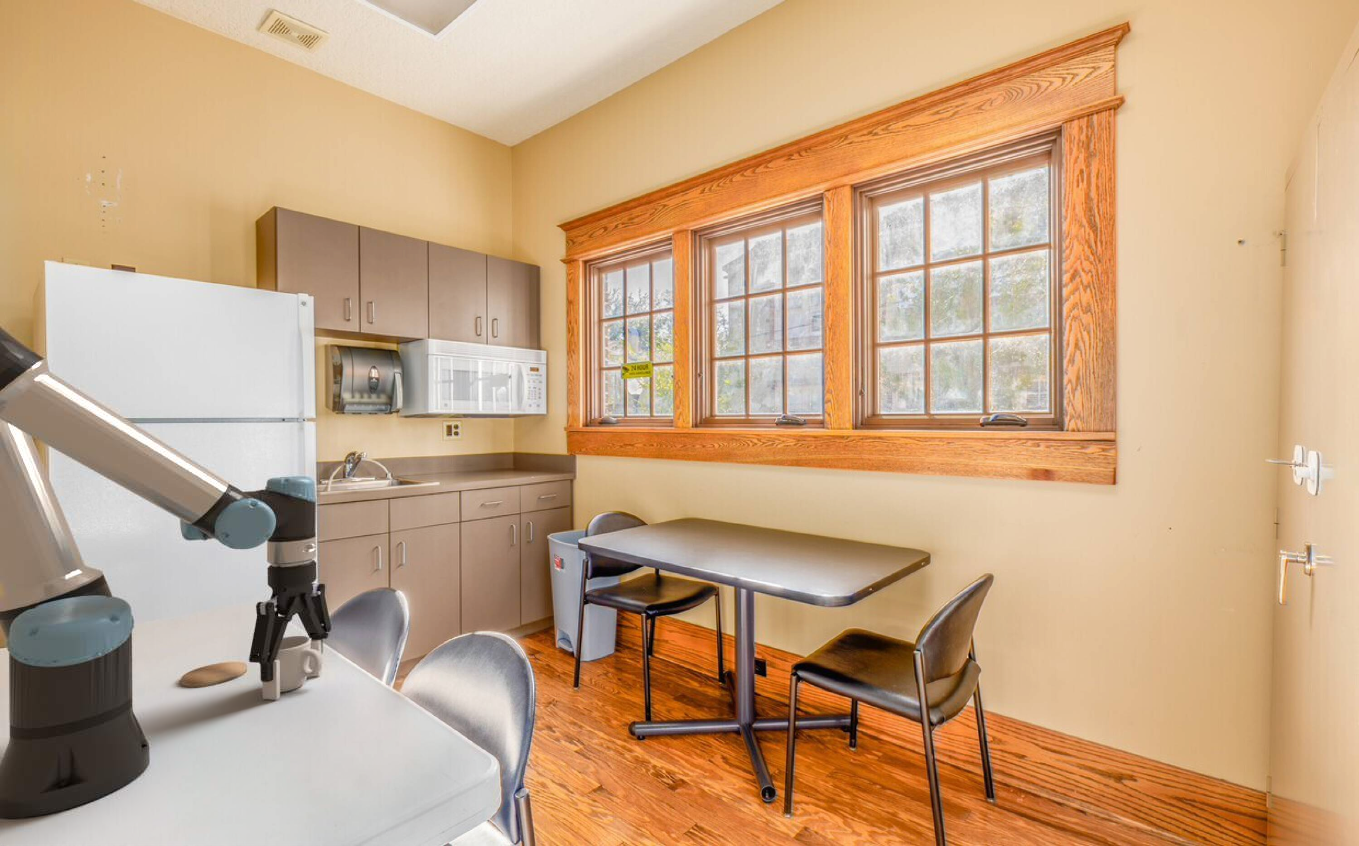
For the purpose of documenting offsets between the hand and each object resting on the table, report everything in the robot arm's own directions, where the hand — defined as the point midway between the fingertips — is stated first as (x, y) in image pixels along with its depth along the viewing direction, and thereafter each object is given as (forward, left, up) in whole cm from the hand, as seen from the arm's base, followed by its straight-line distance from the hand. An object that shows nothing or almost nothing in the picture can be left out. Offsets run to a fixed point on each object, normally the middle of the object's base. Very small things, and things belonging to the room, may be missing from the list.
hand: (293, 685), depth 112 cm
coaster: (+3, +19, 0) cm, 19 cm away
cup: (0, 0, 0) cm, 0 cm away
